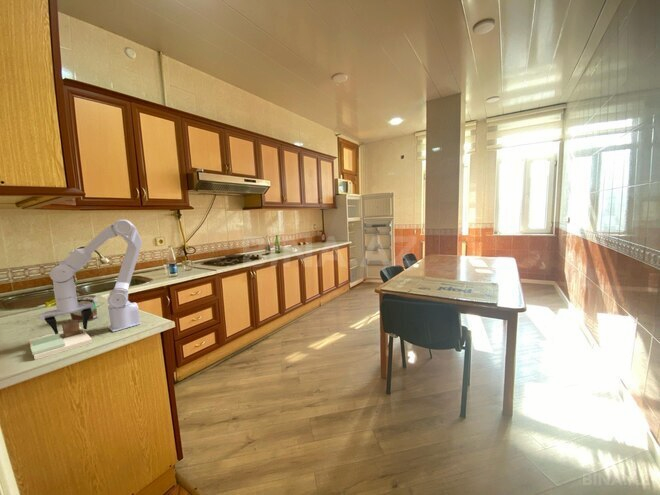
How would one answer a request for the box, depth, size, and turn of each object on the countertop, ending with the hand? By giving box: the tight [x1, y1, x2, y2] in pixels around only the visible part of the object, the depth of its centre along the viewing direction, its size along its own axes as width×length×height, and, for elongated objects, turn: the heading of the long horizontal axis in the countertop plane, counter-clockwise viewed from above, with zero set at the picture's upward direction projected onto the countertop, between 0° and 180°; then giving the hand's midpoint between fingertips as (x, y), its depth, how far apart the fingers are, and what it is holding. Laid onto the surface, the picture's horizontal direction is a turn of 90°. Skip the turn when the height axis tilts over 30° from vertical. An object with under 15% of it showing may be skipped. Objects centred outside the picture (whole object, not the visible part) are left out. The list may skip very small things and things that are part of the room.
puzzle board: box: [28, 326, 93, 361], centre depth 97 cm, size 14×20×1 cm
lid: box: [29, 334, 65, 356], centre depth 90 cm, size 8×8×3 cm
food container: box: [69, 294, 99, 322], centre depth 122 cm, size 12×6×10 cm, turn 92°
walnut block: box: [61, 319, 81, 339], centre depth 101 cm, size 4×4×6 cm
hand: (71, 332), depth 101 cm, fingers open, 7 cm apart
